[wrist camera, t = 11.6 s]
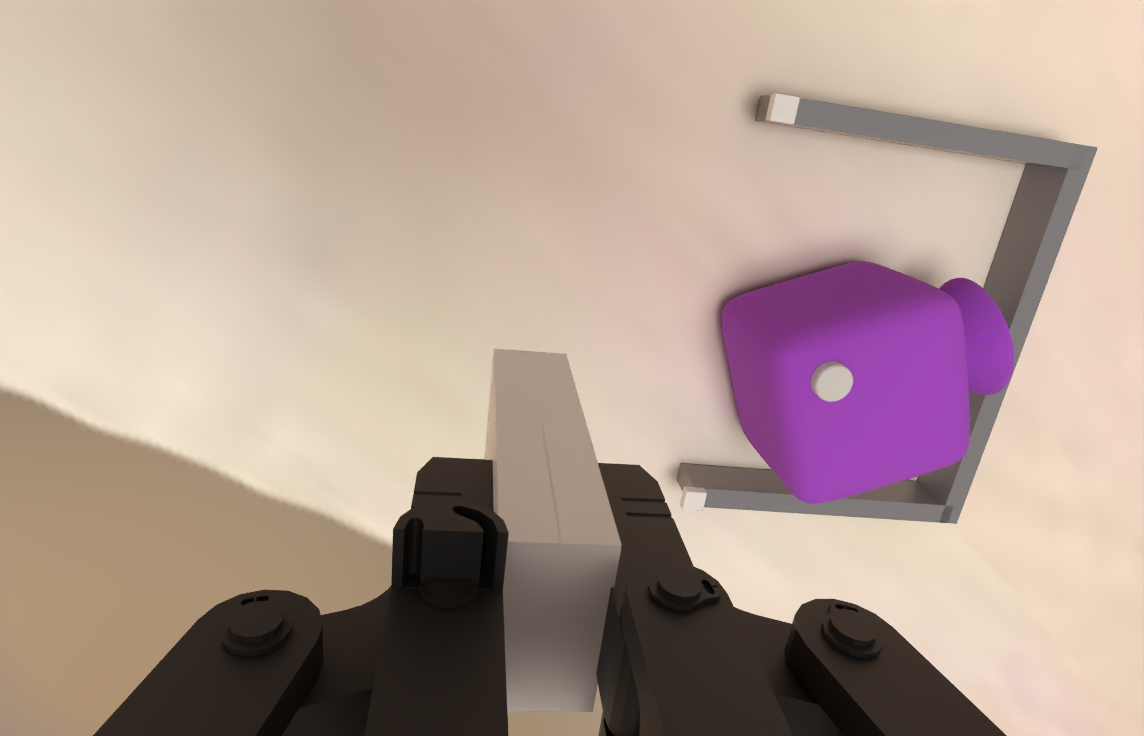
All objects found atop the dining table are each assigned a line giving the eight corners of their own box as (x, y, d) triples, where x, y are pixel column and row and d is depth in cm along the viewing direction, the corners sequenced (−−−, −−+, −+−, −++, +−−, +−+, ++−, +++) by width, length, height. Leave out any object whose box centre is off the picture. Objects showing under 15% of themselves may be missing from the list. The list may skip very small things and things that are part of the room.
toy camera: (954, 361, 43) (1084, 432, 34) (751, 459, 44) (823, 555, 34) (908, 200, 39) (1040, 230, 30) (686, 311, 40) (748, 374, 30)
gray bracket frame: (749, 94, 36) (776, 93, 33) (1053, 144, 39) (1106, 148, 36) (667, 479, 43) (682, 510, 40) (928, 498, 46) (961, 528, 43)
